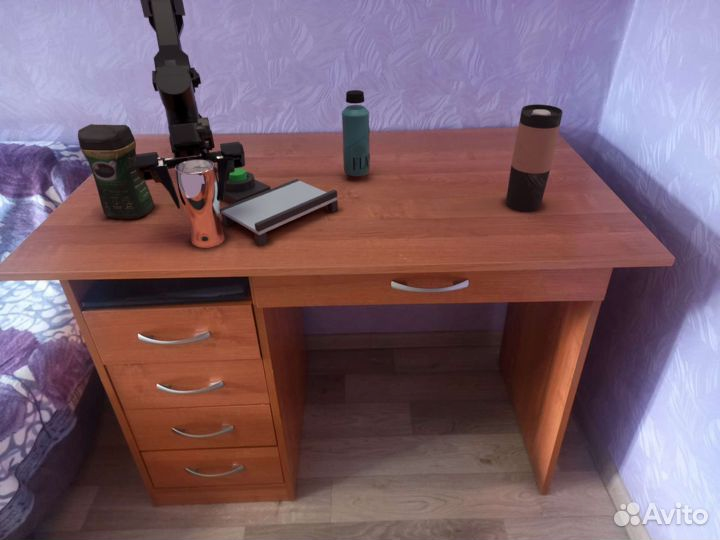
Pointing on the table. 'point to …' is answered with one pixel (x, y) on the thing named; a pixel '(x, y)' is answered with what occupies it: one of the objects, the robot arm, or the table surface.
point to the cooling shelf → (277, 207)
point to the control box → (243, 189)
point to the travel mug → (532, 156)
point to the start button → (238, 175)
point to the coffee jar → (115, 170)
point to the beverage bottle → (355, 135)
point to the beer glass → (200, 201)
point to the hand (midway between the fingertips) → (200, 204)
